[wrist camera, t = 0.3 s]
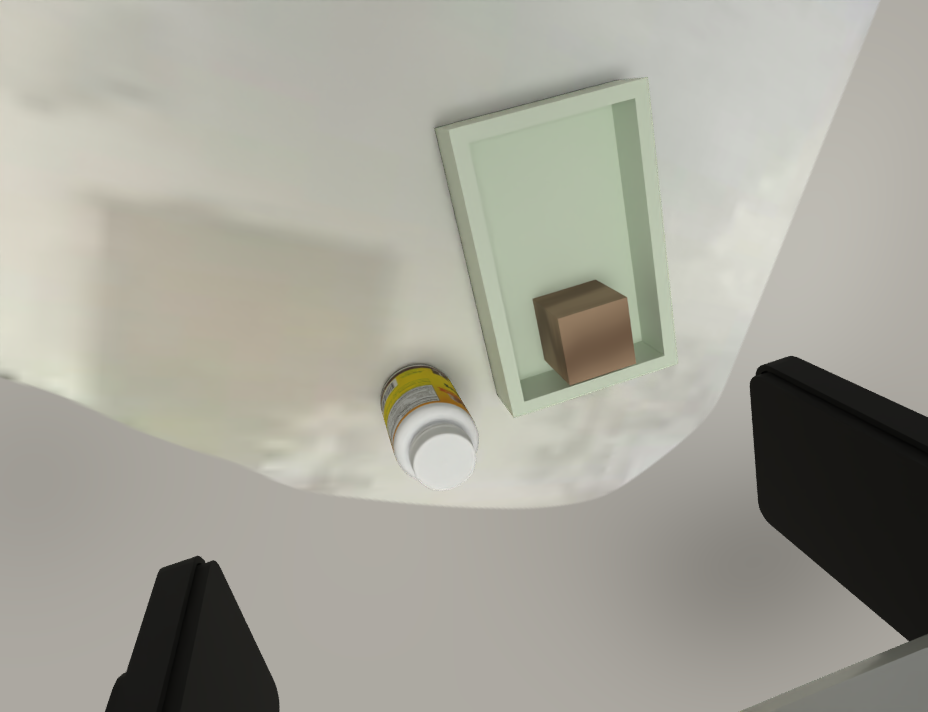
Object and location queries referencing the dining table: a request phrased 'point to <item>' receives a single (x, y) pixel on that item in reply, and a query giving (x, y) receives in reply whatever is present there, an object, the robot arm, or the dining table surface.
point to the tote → (561, 228)
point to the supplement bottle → (429, 427)
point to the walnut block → (585, 331)
